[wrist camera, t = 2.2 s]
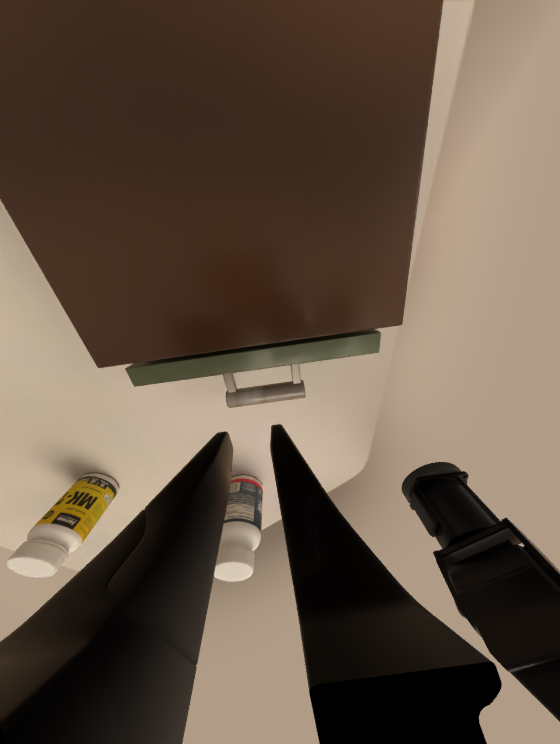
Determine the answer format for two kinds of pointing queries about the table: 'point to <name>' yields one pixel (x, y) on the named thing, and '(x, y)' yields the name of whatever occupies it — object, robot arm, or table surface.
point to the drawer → (257, 365)
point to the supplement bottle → (64, 526)
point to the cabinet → (216, 164)
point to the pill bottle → (240, 530)
